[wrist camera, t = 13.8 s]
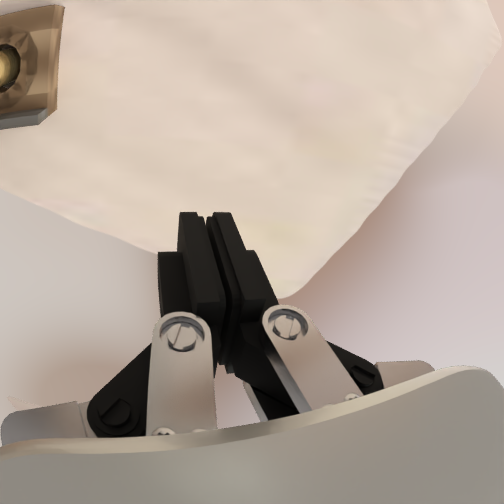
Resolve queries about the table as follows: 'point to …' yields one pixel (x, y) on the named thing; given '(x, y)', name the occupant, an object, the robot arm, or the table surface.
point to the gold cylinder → (9, 65)
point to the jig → (31, 65)
